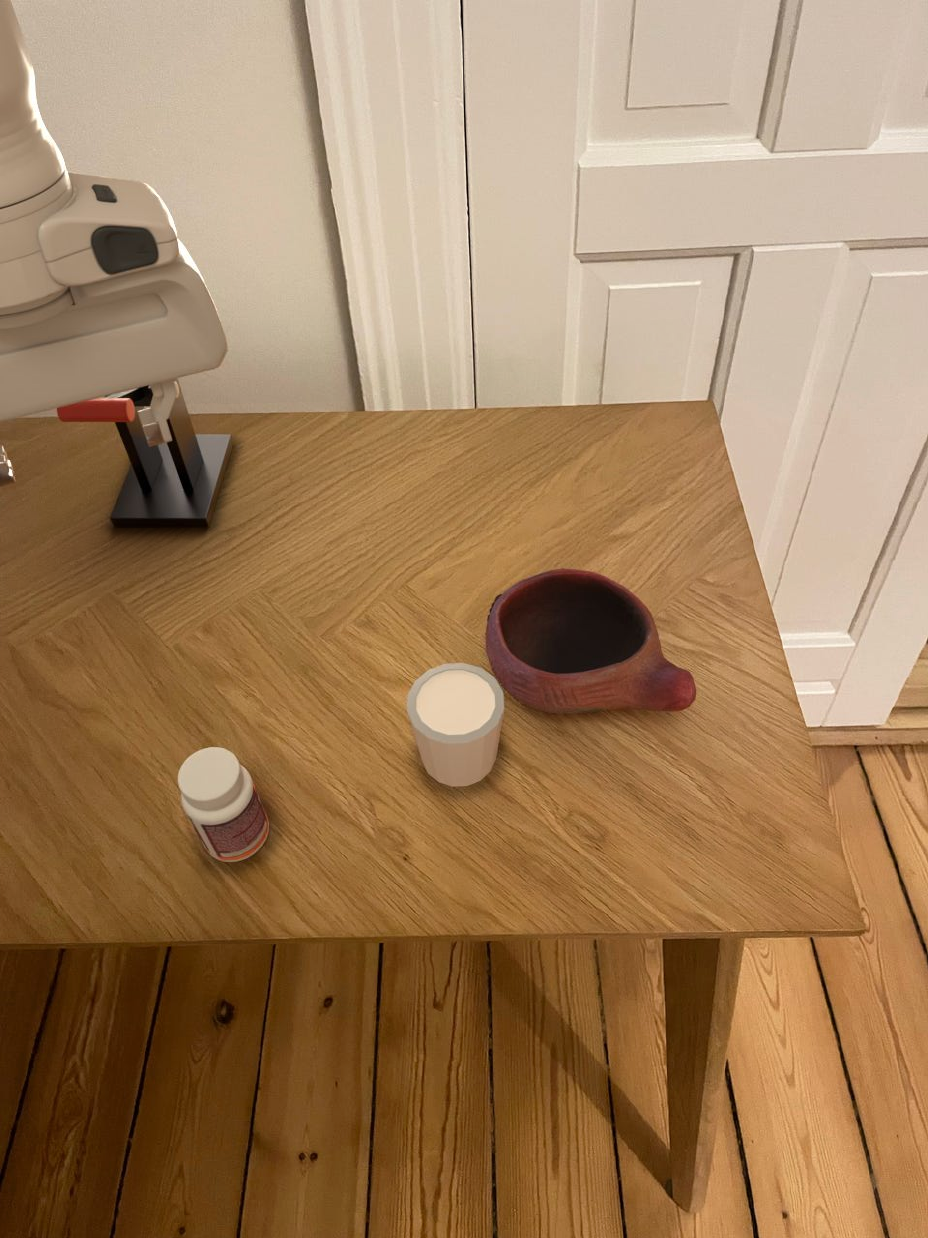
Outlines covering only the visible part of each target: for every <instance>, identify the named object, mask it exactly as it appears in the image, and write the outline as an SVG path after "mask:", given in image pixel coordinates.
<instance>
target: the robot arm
mask: <svg viewBox="0 0 928 1238" xmlns="http://www.w3.org/2000/svg"><path fill="white" fill-rule="evenodd" d="M15 11H16V10H15V9H14V6H13V3H12V1H11V0H0V423H2V422H3V423H4V422H7V421H11V420H14V419H19V418H23V417H26V416H31V415H35V414H39V413H42V412H46V411H50V410H54V409H57V408H59V407H63V406H67V405H71V404H75V403H79V402H83V401H87V400H91V399H95V398H104V396H107V395H111V394H115V393H119V392H123V391H128V390H132V389H136V388H140V387H144V386H148V385H150V387H151V390H152V392H153V397H152V401H151V405H150V407H148V408H144V410H140V411H137V412H138V415H139V418H140V421H141V424H142V427H143V430H144V433H145V436H146V439H147V442H148V445H149V447H151V446H155V445H158V444H162V443H166V442H170V441H172V437H171V434H170V431H169V427H168V424H167V421H166V420H167V419H168V418H169V415H170V412H171V410H172V407H173V404H174V401H175V398H176V395H177V389H176V386H175V382H174V379H176V378H178V379H179V378H184V377H188V376H191V375H196V374H200V373H205V372H208V371H212V370H216V369H219V368H220V367H221V365H222V364H223V362H224V360H225V358H226V356H227V354H228V352H229V344H228V340H227V337H226V333H225V330H224V327H223V324H222V321H221V318H220V314H219V312H218V310H217V308H216V307H217V306H216V305H215V302H214V300H213V297H212V296H211V295H212V294H211V293H210V290H209V289H208V287H207V285H206V282H205V280H204V278H203V276H202V275H201V273H200V270H199V268H198V267H197V265H196V263H195V261H194V260H193V258H192V257H191V255H190V253H189V252H188V250H187V248H186V247H185V246H184V244H183V243H182V242H181V241H180V240H179V238H178V233H177V229H176V226H175V223H174V219H173V217H172V215H171V213H170V210H169V209H168V207H167V205H166V204H165V202H164V201H163V200H162V198H161V196H160V195H159V194H158V193H157V192H156V191H155V189H154V188H152V187H151V186H150V185H149V184H148V183H145V182H143V181H139V180H135V179H127V178H121V177H120V178H117V177H111V176H110V177H109V176H102V175H95V174H88V173H81V172H73V171H68V170H67V167H66V163H65V161H64V158H63V157H64V156H63V155H62V153H61V150H60V149H59V148H58V146H57V144H56V142H55V141H54V139H53V138H52V136H51V135H50V133H49V131H48V130H47V127H46V125H45V124H44V123H45V122H44V121H43V119H42V116H41V114H40V110H39V108H38V103H37V96H36V95H37V94H36V81H35V79H36V76H35V71H34V65H33V62H32V58H31V55H30V53H29V48H28V46H27V44H26V41H25V38H24V37H25V36H24V34H23V31H22V28H21V25H20V22H19V20H18V17H17V15H16V12H15ZM15 476H16V474H15V471H14V467H13V465H12V463H11V460H9V458H8V454H7V452H6V449H5V447H4V446H3V445H0V488H1V487H5V486H8V485H12V484H15V483H17V480H16V477H15Z"/></svg>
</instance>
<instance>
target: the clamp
mask: <svg viewBox="0 0 928 1238" xmlns="http://www.w3.org/2000/svg"><path fill="white" fill-rule="evenodd" d="M174 382H175V386H176V389H177V395H176V398H175V401H174V404H173V407H172V410H171V412H170V415H169V418H168V419H167V420H166V421H167V424H168V427H169V431H170V434H171V437H172V441H170V442H166V443H162V444H158V445H155V446H151V447H149V445H148V442H147V439H146V436H145V433H144V430H143V427H142V424H141V421H140V418H139V415H138V412H137V411H140V410H144V409H145V407H135V417H134V420H133V421H132V422H114V424H115V427H116V429H117V431H118V434H119V436H120V440H121V442H122V445H123V447H124V449H125V452H126V454H127V457H128V460H129V462H130V466H129V468H128V471H127V473H126V476H125V479H124V481H123V484H122V485H121V487H120V488H121V489H120V491H119V493H118V496H117V499H116V501H115V504H114V507H113V509H112V511H111V513H110V517H109V519H110V522H111V524H112V527H114V528H186V529H187V528H191V529H192V528H195V529H196V528H198V529H199V528H200V529H203V528H204V529H205V528H207V529H208V528H210V525H211V521H212V518H213V515H214V511H215V509H216V504H217V501H218V498H219V494H220V490H221V487H222V484H223V482H224V477H225V474H226V471H227V467H228V464H229V461H230V457H231V454H232V451H233V448H234V444H235V442H234V439H233V435H232V434H231V433H225V434H222V433H212V434H210V433H207V434H206V433H198V434H197V433H195V429H194V426H193V422H192V420H191V416H190V414H189V410H188V407H187V403H186V401H185V397H184V395H183V391H182V388H181V384H180V381H179V378H176V379H174ZM148 391H149V394H150V397H151V399H152V397H153V392H152V390H151V387H150V385H149V387H148ZM111 395H112V394H111ZM107 396H109V395H107ZM107 396H103V398H104V397H107Z"/></svg>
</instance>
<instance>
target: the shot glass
mask: <svg viewBox="0 0 928 1238" xmlns="http://www.w3.org/2000/svg"><path fill="white" fill-rule="evenodd" d="M504 694H505V693H504V691H503V689H502V686H501V685H500V683H499V681H498V680H497V678H496V677H494V675H492V674H490V673H489V672H487V671H486V670H485V669H483V668H482V667H479V666H476V665H473V664H469V663H465V662H453V663H451V662H449V663H443V664H440V665H438V666H435V667H432V668H430V669H427V670H426V671H425V672H424V673H423V674H421V675H420V676H419V677H418V678H417V679H416V680H414V682H413V684H412V686H411V688H410V690H409V691H408V694H407V697H406V713H407V717H408V719H409V723H410V726H411V730H412V733H413V736H414V739H415V743H416V746H417V749H418V753H419V755H420V760H421V762H422V764H423V767H424V769H425V771H426V773H427V774H428V775H429V776H430V777H432V778H433V779H434V780H435V781H436V782H437V783H440V784H443V785H445V786H449V787H452V788H453V787H456V788H457V787H468V786H471V785H474V784H476V783H478V782H480V781H482V780H483V779H484V778H485V777H486V776H487V775H488V774H489V773H491V771H492V770H493V767H494V765H495V762H496V759H497V755H498V750H499V749H498V748H499V743H500V737H501V731H502V724H503V719H504V713H505V695H504Z"/></svg>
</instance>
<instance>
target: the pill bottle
mask: <svg viewBox="0 0 928 1238" xmlns="http://www.w3.org/2000/svg"><path fill="white" fill-rule="evenodd" d="M252 778H253V777H252V776H251V775H250V772H249V771H248V770H247V768H245V767H244V766H243V765H242V764H241V763H240V761H239V759H238V757H237V756H236V755H235V754H234V753H233V752H232V751H230V750H229V749H226V748H224V747H219V746H210V747H205V748H202V749H199V750H196V751H195V752H193V753H192V754H190V755H189V756H188V757H187V758H186V759H185V761H183V763H182V765H181V766H180V768H179V770H178V774H177V786H178V788H179V791H180V794H181V795H180V801H181V808H182V810H183V812H184V813H185V815H186V817H187V818H188V820H189V822H190V824H191V826H192V827H193V829H194V831H195V833H196V835H197V836H198V838H199V840H200V842H201V844H202V845H203V847H204V849H205V850H206V852H207V853H208V855H210V856H211V857H212V858H214V859H216V860H217V861H220V862H223V863H236V862H240V861H244V860H247V859H248V858H251V857H252V856H254V855H256V853H257V852H258V851H259V850H260V849H261V848H262V847H263V846H264V844H265V842H266V841H267V839H268V835H269V832H270V822H269V818H268V815H267V813H266V810H265V808H264V804H263V802H262V800H261V797H260V795H259V792H258V791H257V788H256V785H255V783H254V781H253V779H252Z"/></svg>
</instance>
